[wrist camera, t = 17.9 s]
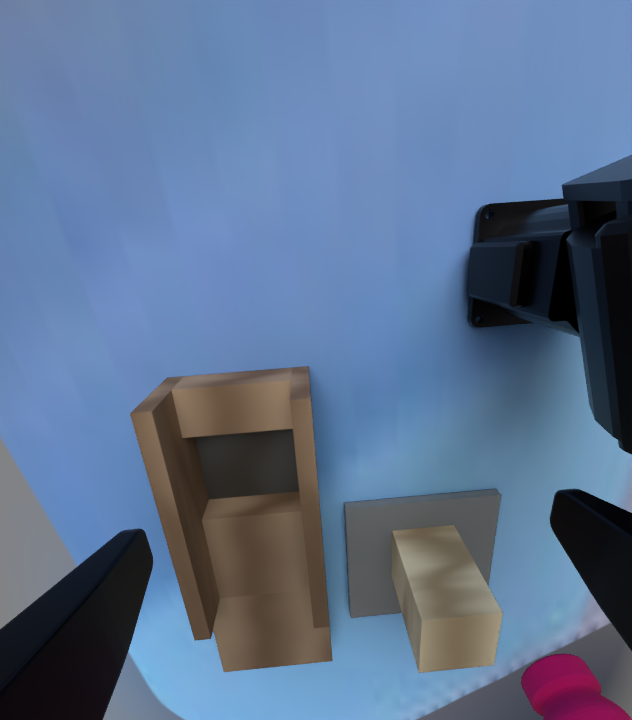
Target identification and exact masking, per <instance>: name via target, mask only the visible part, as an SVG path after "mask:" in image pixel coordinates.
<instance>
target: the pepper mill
mask: <svg viewBox="0 0 632 720" xmlns="http://www.w3.org/2000/svg"><path fill="white" fill-rule="evenodd" d="M521 684H522V688H523V690H524V691H525V693H526V695H527V697H528V699H529V701H530V703H531V705H532V707H533V709H534V710H535V711H536V712H537V713H538V714H540V715H541V716H544V720H632V719H631V717H630V716H629V715H628V714H627V713H626V712H625V711H624V710H623V709H622V708H621V707H619V706H618V705H617V704H615V703H614V702H612V701H610V700H609V699H607V698H605V697H603V696H602V695H600V693H601V687H600V684H599V682H598V680H597V679H596V678H595V676H594V675H593V673H592V672H591V670H590V669H589V667H588V666H587V665H586V663H585V662H584V661H583V660H582V659H580V658H579V657H577V656H574V655H571V654H555V655H550V656H547V657H544V658H542V659H540V660H538V661H536V662H535V663H533V664H532V665H531V666H529V667H528V668H527V669H526V671H525V672H524V674H523V676H522V681H521Z"/></svg>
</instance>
